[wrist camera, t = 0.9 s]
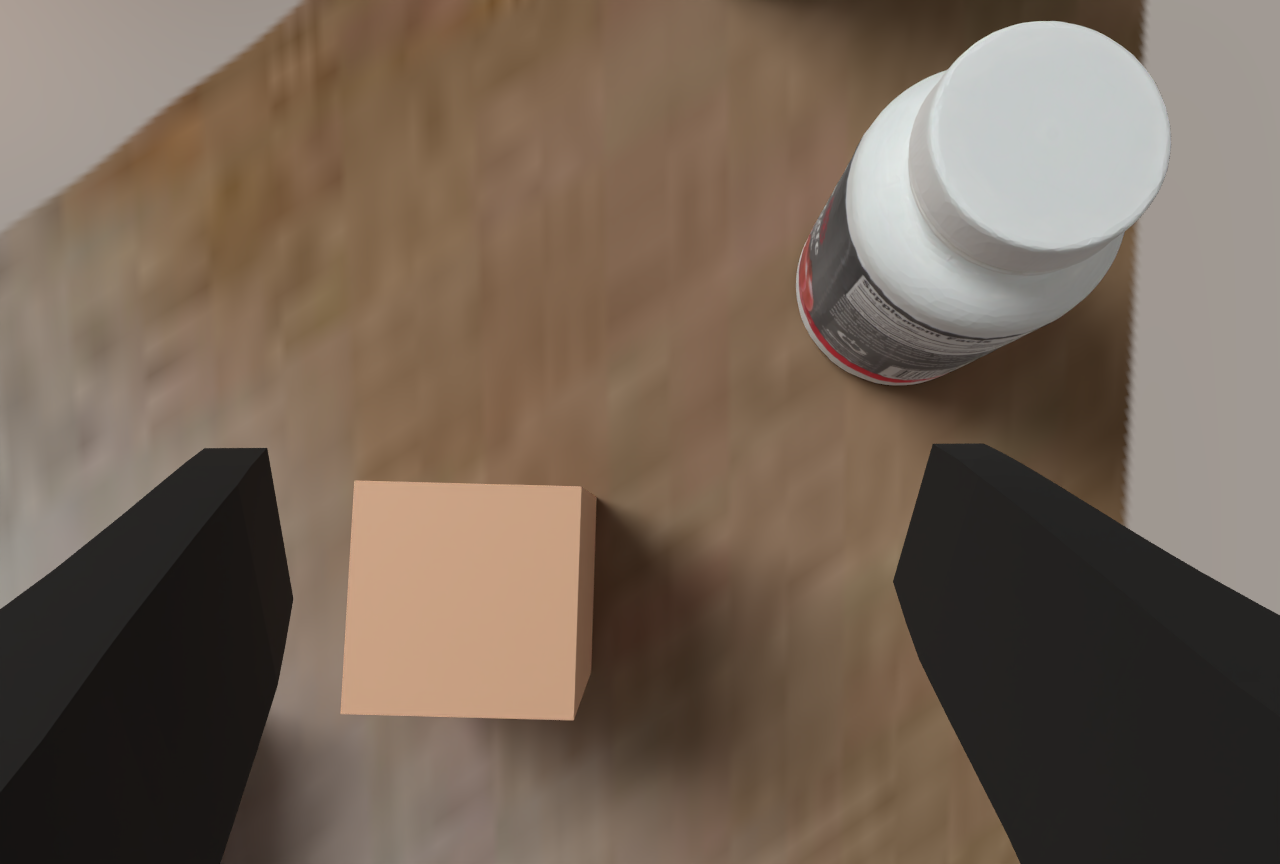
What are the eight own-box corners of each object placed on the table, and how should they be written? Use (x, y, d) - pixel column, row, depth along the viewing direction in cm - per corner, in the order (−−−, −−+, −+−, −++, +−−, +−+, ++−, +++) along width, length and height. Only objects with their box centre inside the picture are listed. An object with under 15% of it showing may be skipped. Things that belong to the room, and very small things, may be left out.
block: (591, 671, 24) (573, 720, 18) (416, 667, 24) (340, 714, 18) (596, 497, 24) (581, 486, 18) (426, 492, 24) (354, 480, 18)
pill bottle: (838, 162, 25) (964, -73, 15) (1021, 240, 25) (1269, 52, 15) (759, 340, 24) (837, 214, 15) (946, 422, 24) (1151, 349, 14)
